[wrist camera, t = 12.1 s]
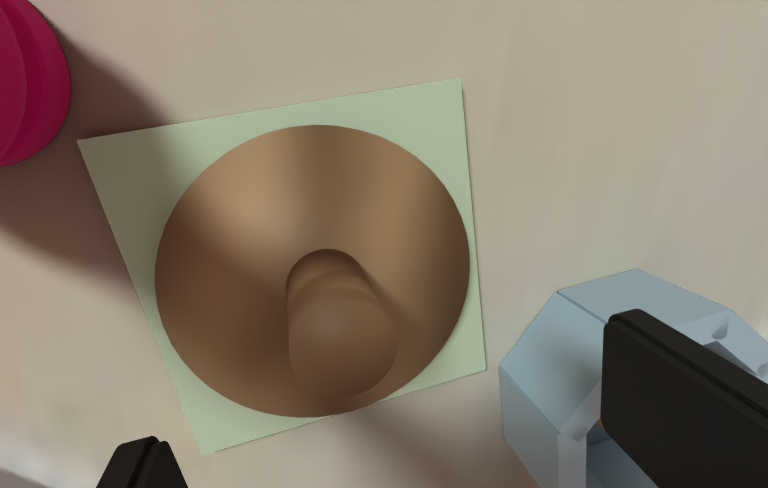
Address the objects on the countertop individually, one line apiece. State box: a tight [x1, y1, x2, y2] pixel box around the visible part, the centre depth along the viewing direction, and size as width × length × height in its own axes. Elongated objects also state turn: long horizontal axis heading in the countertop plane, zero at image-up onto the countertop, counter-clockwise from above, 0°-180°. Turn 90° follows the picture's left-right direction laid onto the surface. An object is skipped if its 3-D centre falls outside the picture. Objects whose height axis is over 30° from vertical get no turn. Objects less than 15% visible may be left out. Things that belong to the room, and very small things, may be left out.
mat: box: [76, 77, 486, 456], centre depth 18 cm, size 14×14×1 cm
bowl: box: [499, 269, 768, 488], centre depth 22 cm, size 12×12×5 cm
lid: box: [155, 125, 470, 418], centre depth 15 cm, size 13×13×6 cm
